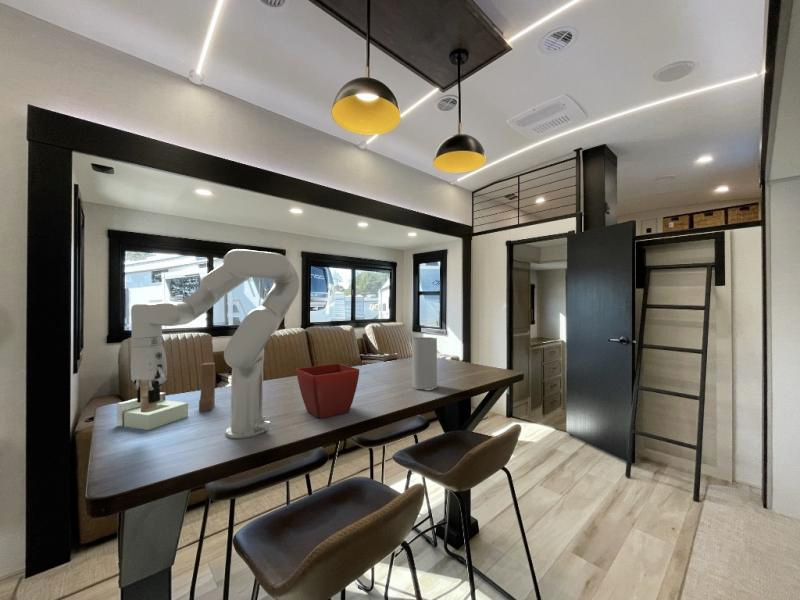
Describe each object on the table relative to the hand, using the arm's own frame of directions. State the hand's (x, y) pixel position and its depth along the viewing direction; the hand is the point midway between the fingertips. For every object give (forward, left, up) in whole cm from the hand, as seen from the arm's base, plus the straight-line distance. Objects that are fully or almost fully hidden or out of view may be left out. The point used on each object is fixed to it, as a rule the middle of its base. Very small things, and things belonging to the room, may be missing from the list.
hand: (148, 401), depth 101 cm
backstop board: (+21, -13, -12) cm, 27 cm away
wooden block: (+10, -30, -12) cm, 33 cm away
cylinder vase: (-67, -89, -12) cm, 112 cm away
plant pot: (-39, -41, -12) cm, 58 cm away
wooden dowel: (0, 0, -3) cm, 3 cm away
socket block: (+14, -13, -12) cm, 22 cm away
